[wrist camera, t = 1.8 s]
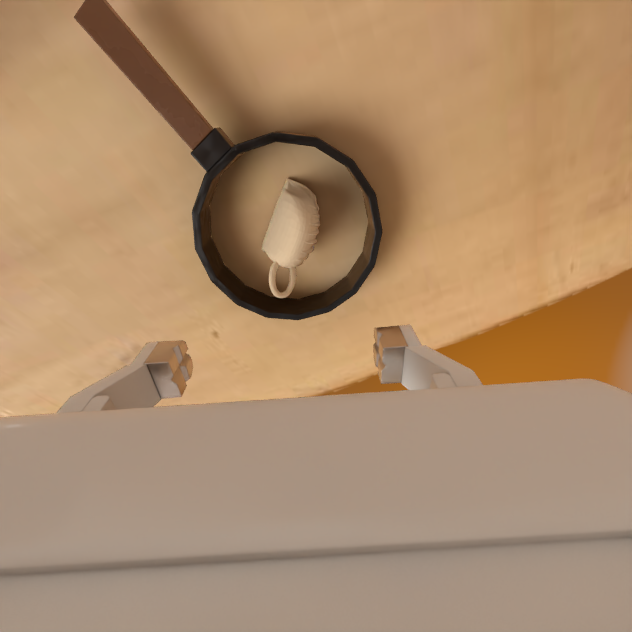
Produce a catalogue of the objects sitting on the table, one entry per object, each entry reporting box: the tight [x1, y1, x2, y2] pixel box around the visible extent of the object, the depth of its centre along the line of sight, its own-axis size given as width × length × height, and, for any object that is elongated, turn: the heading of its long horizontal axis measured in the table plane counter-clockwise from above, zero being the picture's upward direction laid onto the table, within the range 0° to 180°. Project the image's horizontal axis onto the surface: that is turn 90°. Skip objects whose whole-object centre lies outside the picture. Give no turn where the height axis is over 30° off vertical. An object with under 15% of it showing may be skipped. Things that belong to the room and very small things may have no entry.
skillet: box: [74, 0, 382, 320], centre depth 25 cm, size 26×15×3 cm, turn 39°
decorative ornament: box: [262, 179, 320, 298], centre depth 27 cm, size 4×8×5 cm, turn 154°
